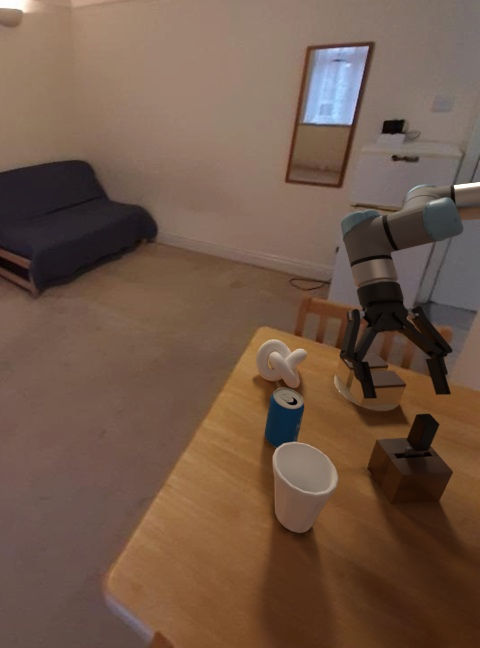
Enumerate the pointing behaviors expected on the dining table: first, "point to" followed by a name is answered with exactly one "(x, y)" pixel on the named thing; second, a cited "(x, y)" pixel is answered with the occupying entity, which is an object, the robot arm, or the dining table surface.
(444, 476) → the knife block
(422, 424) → the knife
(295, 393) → the beverage can
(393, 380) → the cake
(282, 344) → the white knot sculpture
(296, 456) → the cup
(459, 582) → the dining table surface
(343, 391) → the plate
